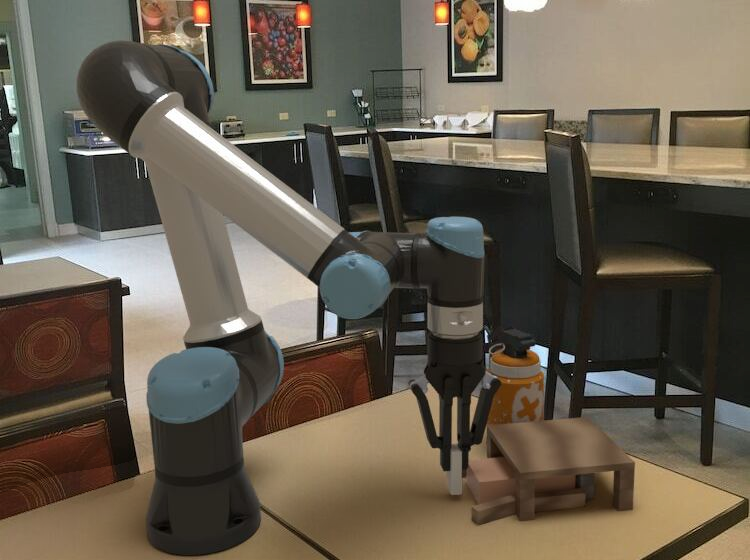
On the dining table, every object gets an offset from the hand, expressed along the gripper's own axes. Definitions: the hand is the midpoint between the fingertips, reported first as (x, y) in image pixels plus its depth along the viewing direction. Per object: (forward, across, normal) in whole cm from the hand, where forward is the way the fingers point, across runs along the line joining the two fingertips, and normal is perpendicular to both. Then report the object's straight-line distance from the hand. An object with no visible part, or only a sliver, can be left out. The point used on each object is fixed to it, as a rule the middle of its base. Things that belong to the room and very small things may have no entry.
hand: (454, 489), depth 113 cm
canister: (+1, +13, +15) cm, 20 cm away
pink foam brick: (+1, +10, 0) cm, 10 cm away
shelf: (+1, +12, 0) cm, 12 cm away
